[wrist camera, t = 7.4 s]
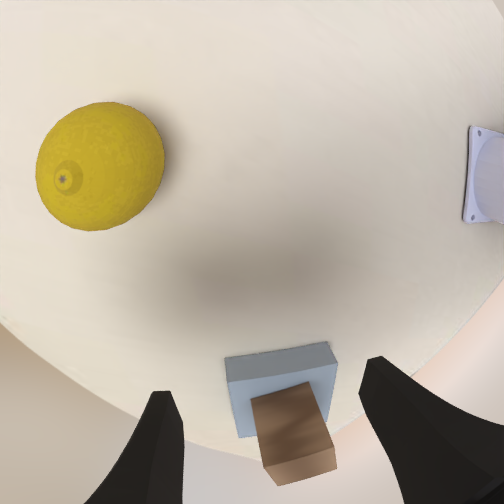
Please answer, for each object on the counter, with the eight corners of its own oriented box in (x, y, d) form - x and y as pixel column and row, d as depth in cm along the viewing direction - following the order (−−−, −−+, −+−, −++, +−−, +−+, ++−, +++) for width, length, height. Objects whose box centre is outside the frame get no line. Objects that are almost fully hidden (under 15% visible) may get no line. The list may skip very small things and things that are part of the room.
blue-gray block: (324, 338, 23) (337, 362, 20) (317, 398, 26) (326, 421, 23) (224, 354, 22) (227, 382, 19) (235, 413, 25) (238, 438, 22)
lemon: (175, 106, 14) (146, 83, 7) (173, 203, 16) (146, 262, 9) (83, 113, 14) (0, 109, 6) (85, 205, 16) (13, 260, 8)
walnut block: (308, 381, 20) (334, 446, 15) (315, 411, 22) (337, 468, 17) (250, 398, 20) (263, 467, 15) (264, 426, 22) (278, 486, 17)
